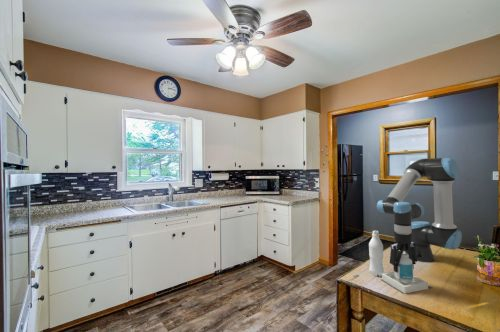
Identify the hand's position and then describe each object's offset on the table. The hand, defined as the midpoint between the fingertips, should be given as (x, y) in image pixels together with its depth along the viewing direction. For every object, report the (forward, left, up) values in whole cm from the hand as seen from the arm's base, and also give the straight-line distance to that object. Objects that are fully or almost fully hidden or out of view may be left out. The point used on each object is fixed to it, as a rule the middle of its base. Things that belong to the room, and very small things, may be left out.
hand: (403, 276), depth 120 cm
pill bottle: (0, 0, -2) cm, 2 cm away
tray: (0, 0, -4) cm, 4 cm away
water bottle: (+5, -13, -5) cm, 15 cm away
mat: (-1, 0, -5) cm, 5 cm away
